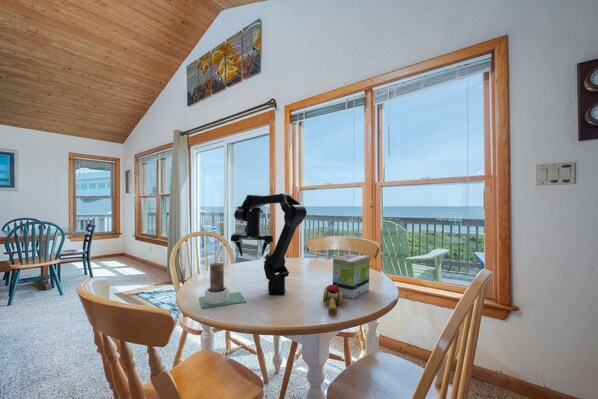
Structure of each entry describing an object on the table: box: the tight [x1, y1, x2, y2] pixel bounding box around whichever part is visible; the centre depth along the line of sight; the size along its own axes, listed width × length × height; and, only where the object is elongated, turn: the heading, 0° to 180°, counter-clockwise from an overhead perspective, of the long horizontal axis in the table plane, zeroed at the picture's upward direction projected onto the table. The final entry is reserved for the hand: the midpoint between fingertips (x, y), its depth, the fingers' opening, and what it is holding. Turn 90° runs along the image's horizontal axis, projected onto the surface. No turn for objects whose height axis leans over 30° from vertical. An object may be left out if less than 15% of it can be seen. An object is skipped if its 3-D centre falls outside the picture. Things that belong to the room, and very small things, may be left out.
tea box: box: [332, 253, 370, 300], centre depth 119 cm, size 15×10×15 cm, turn 143°
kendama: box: [322, 284, 343, 316], centre depth 103 cm, size 8×6×18 cm
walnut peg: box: [209, 262, 225, 292], centre depth 109 cm, size 5×5×13 cm
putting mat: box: [198, 285, 247, 309], centre depth 109 cm, size 16×12×4 cm
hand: (252, 256), depth 128 cm, fingers open, 9 cm apart
